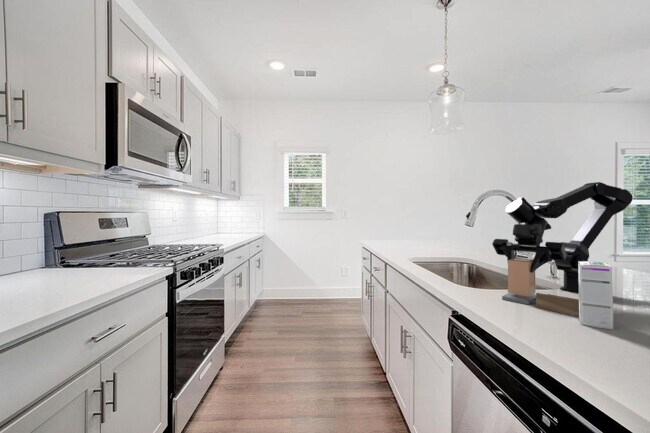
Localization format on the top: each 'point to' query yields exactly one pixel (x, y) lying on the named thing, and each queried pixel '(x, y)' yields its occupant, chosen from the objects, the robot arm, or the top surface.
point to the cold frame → (558, 303)
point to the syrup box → (595, 294)
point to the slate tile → (519, 298)
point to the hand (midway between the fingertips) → (519, 270)
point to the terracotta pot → (521, 277)
